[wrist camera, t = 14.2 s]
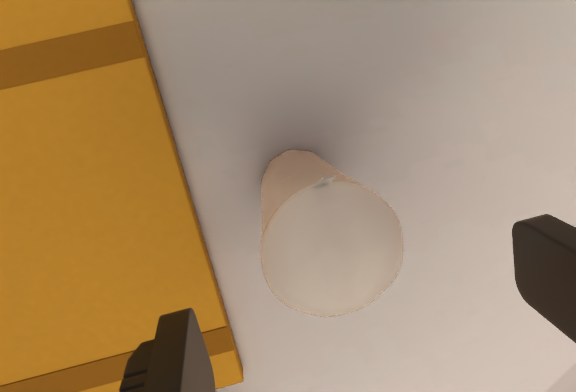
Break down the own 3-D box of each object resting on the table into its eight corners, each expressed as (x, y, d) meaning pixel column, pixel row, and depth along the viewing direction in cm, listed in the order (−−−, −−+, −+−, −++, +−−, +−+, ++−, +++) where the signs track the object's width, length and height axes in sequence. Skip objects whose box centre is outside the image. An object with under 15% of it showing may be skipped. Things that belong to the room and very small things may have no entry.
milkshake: (330, 107, 22) (415, 156, 12) (348, 214, 23) (434, 329, 14) (233, 129, 21) (242, 196, 12) (259, 235, 23) (284, 367, 14)
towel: (19, 430, 25) (10, 447, 24) (-188, 34, 18) (-212, 33, 17) (243, 369, 25) (244, 383, 24) (121, -33, 19) (115, -38, 18)
